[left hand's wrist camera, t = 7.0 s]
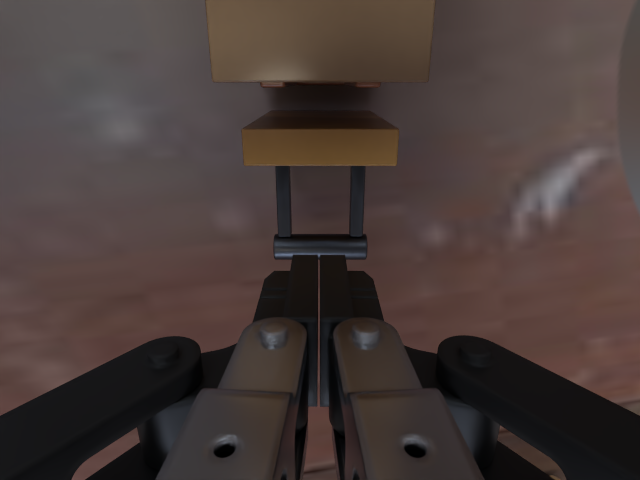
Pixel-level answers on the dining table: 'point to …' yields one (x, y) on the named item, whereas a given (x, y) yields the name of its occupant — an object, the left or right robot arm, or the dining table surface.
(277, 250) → the drawer
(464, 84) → the dining table surface
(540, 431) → the left robot arm
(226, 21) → the cabinet
